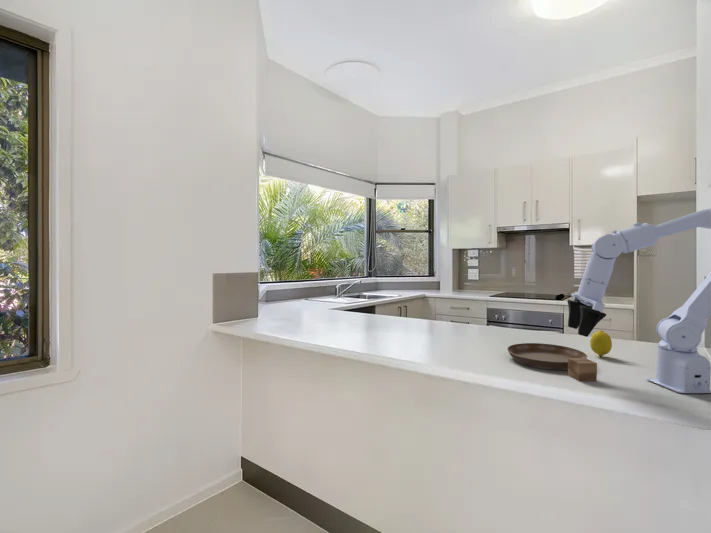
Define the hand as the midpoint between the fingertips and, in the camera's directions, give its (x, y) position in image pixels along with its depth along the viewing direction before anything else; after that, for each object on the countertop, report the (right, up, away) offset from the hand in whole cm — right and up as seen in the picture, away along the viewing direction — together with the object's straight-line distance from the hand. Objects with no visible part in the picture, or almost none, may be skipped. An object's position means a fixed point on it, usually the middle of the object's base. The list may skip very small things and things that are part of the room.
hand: (577, 331), depth 100 cm
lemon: (+17, -11, +17) cm, 26 cm away
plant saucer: (-3, -11, +11) cm, 16 cm away
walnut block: (-1, -11, -4) cm, 12 cm away
